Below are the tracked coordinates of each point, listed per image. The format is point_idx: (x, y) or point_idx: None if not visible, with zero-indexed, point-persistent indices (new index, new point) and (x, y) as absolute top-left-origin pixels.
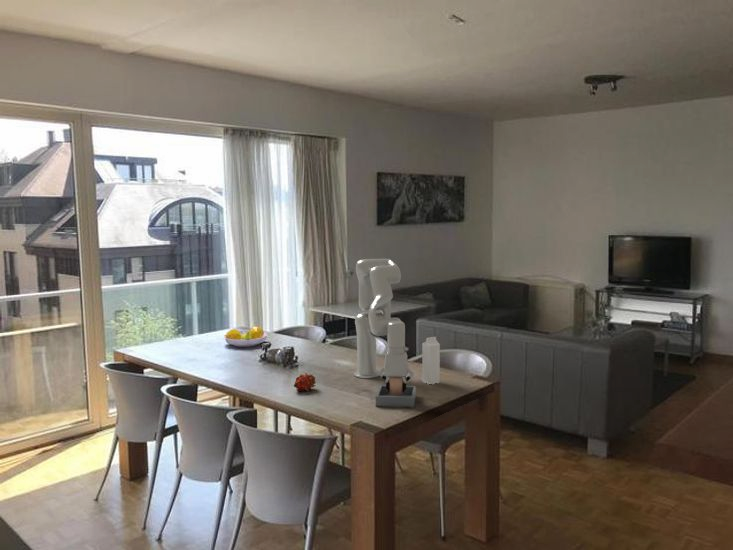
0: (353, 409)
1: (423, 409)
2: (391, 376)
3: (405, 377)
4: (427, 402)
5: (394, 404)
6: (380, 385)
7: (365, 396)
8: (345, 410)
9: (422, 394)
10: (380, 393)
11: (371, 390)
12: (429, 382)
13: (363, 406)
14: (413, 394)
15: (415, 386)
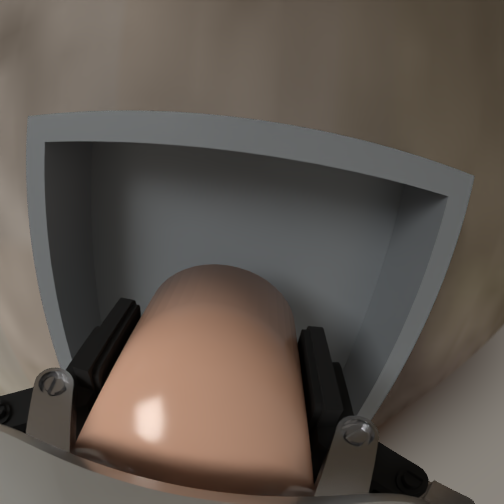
0: (30, 376)
1: (380, 412)
2: (97, 453)
3: (357, 480)
4: (449, 315)
5: None
6: (31, 132)
7: (6, 174)
8: (12, 377)
9: (470, 128)
10: (74, 272)
11: (38, 24)
12: None
13: (47, 353)
14: (369, 413)
15: (469, 182)
